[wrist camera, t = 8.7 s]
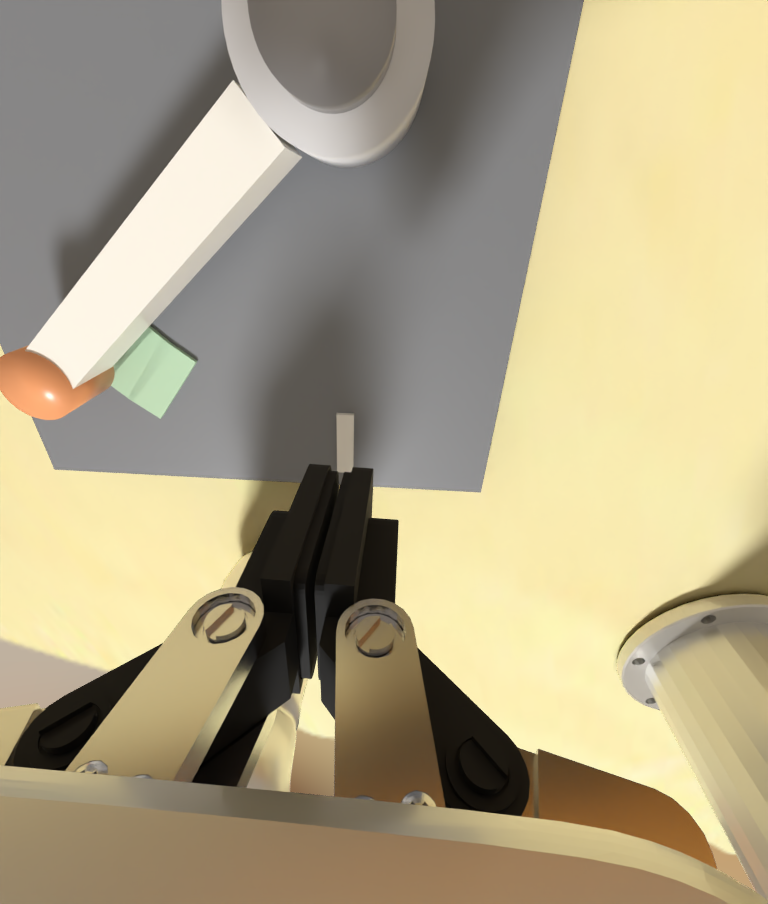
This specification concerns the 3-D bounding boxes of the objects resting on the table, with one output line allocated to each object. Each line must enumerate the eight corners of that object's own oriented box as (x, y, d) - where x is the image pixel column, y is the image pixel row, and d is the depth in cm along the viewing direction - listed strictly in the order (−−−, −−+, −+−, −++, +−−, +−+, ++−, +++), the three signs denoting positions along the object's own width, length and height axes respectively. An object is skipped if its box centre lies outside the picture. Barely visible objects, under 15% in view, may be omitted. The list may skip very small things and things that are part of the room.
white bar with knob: (457, 84, 13) (484, 30, 9) (128, 415, 19) (59, 469, 15) (351, -106, 11) (326, -282, 7) (25, 330, 17) (-86, 367, 13)
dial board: (584, -77, 12) (609, -115, 11) (475, 475, 23) (481, 494, 21) (-154, -122, 12) (-228, -166, 11) (74, 454, 22) (52, 471, 21)
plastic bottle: (259, 609, 29) (57, 1207, 12) (218, 538, 25) (-153, 1230, 8) (348, 597, 28) (272, 1223, 11) (317, 521, 24) (135, 1258, 7)
